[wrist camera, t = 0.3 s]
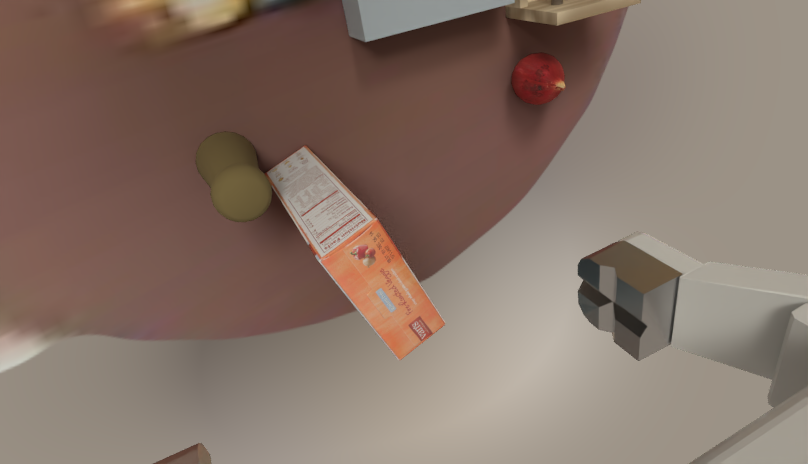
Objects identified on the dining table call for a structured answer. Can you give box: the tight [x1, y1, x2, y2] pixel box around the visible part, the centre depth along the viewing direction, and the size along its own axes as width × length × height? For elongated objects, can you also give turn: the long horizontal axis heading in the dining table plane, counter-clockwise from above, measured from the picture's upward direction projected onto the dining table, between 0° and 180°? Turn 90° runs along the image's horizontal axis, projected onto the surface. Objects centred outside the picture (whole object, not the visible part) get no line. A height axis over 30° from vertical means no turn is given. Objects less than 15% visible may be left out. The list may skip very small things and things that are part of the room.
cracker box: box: [264, 145, 446, 360], centre depth 51 cm, size 14×6×21 cm, turn 28°
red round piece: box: [511, 53, 566, 105], centre depth 60 cm, size 6×6×8 cm
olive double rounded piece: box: [196, 132, 272, 222], centre depth 49 cm, size 6×6×11 cm
